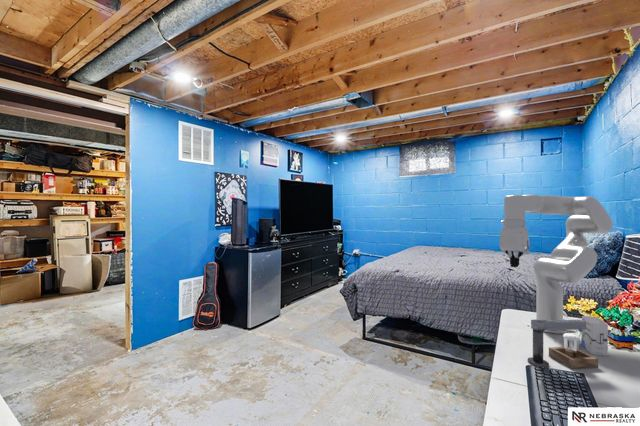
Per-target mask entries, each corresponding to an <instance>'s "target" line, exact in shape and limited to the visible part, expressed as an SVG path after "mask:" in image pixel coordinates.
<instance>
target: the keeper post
mask: <svg viewBox="0 0 640 426" xmlns="http://www.w3.org/2000/svg"><path fill="white" fill-rule="evenodd" d="M527 362H528V364H530V365H532V366H535V367H537V366H539V367H538V368H541V367H544V369H546V368H549V367H550V363H549V362H548V361H547V360H545V359H544V331H537V330H534V329H532V356H531V357H528V358H527Z"/></svg>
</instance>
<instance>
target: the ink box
mask: <svg viewBox="0 0 640 426" xmlns="http://www.w3.org/2000/svg"><path fill="white" fill-rule="evenodd" d="M581 320H582V321H584V322H586V329H584V330H581V332H582V333H581V335H580V337H581V338H580V342H581V343H580V345H581V346H582V347H583V348H585V350H587V351H588V353H590V355H595V356H603V357H604V356H605V357H608V343H609V339H608V337H609V336H608V335H609V334H608V333H609V324H608V323H607V322H605V321H604V320H602V319H601V318H599V317H598V316H590V315H589V316H588V315H582V316H581Z"/></svg>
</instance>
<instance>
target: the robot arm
mask: <svg viewBox="0 0 640 426" xmlns="http://www.w3.org/2000/svg"><path fill="white" fill-rule="evenodd" d="M526 213H529V214H541V215H558V216H569V217H567V218H566V220H565V233H566V235H565V238H564V239H563V240H562V241H561V242H560V243H559V244H557V246H556V247H555V248H554V249H553V250H552V251H551V254H550V257H541V258H538V259H537V260H535V261H534V263H533V273H534V276H535V277H534V278H535V282H536V283H535V285H536V287H535V288H536V292H535V293H536V303H535V304H536V308H535V309H536V319H535V320H565V319H564V290H563V287H562V285H561V283H564V284H567V285H568V284H569V285H570V284H571V285H574V284H575V285H576V284H578V283H579V282H581V281H582V280H583V279H584V278H585V277H586V276H587V275H588V274H589V273H591V271H592V270H593V269H594V267H595V266H596V264H597V261H598V254H597V252H596V250H595V249H594V248H592V247H589V245H588V241H587V239H586V237H584V234H585V233H586V234H598V235H599V234H601V235H602V234H608V233H609V232H611V231H612V229H613V225H614V224H613V220H612V219H613V218H611V216H610V215H609V214H608V212H607V210H606V209H605V207H604V206H603V205H602V204H601V203H600V201H599V200H598V199H596V198H595V197H594V196H590V195H589V196H588V195H587V196H586V195H585V196H563V195H538V194H533V193H532V194H509V195H505V196H504V198H503V217H504V218H503V220H501V221H500V224H501V225H503V226H501V230H500V235H499V236H500V237H499V249H500V252H501V253H504V254H506V255H507V256H508V258H509V264H510V267H511V268H518V267H519V266H520V258H521V256H523V255H529V254H530V238H529V237H530V236H529V231H528V227H527V226H526ZM583 233H584V234H583ZM568 331H569V330H545V331H543V333H544V332H545V333H549V334H553V335H554V334H555V335H564V334H565V333H569V332H568Z"/></svg>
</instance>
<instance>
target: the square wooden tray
mask: <svg viewBox="0 0 640 426" xmlns="http://www.w3.org/2000/svg"><path fill="white" fill-rule="evenodd" d="M548 356H549V357H550V358H552V359H554V360H556V361H557V362H560V363H561V364H563V365H565V366H567V367H568V368H570V369H571V370H576V369H577V370H581V369H593V368H595V369H596V368H599V358H598V357H595V356H594V355H592V354H589V353H587V352H585V351H583V350H581V349H579V350H578V358H571V357H569V356H567V355H565V349H564V346H555V347H554V346H553V347H548Z"/></svg>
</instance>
